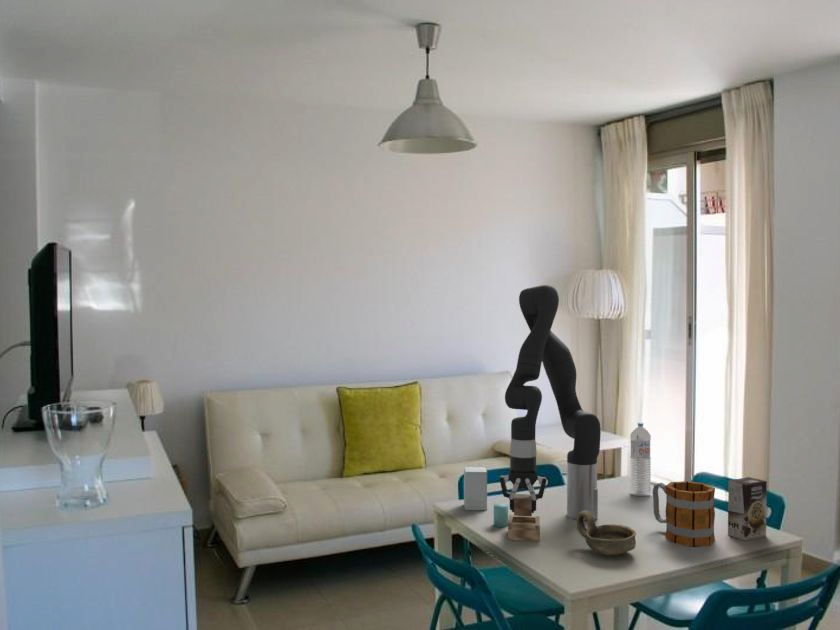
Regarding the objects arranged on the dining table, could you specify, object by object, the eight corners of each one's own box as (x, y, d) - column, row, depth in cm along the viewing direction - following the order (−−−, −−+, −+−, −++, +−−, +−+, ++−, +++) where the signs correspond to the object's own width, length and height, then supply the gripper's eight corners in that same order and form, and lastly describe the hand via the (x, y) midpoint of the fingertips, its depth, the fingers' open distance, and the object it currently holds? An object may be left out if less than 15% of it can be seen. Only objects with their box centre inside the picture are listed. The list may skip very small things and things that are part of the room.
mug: (725, 541, 213) (725, 488, 213) (695, 550, 206) (695, 495, 205) (668, 523, 230) (668, 474, 229) (638, 531, 222) (638, 481, 222)
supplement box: (487, 510, 244) (487, 471, 244) (464, 510, 245) (464, 471, 244) (485, 504, 252) (485, 466, 251) (463, 504, 252) (463, 466, 252)
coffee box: (745, 541, 213) (746, 484, 213) (726, 534, 219) (727, 479, 218) (767, 536, 217) (767, 480, 217) (748, 530, 223) (748, 476, 223)
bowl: (620, 566, 194) (620, 528, 194) (563, 550, 207) (563, 514, 206) (647, 553, 204) (647, 516, 203) (591, 538, 216) (591, 504, 216)
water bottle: (631, 496, 260) (631, 424, 259) (629, 491, 267) (629, 421, 266) (651, 497, 259) (652, 425, 258) (649, 492, 266) (649, 421, 265)
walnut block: (531, 511, 221) (531, 494, 221) (531, 516, 216) (531, 499, 216) (514, 510, 222) (514, 493, 222) (514, 515, 217) (514, 498, 217)
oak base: (539, 531, 223) (539, 516, 223) (539, 540, 214) (539, 525, 214) (508, 529, 224) (508, 515, 224) (508, 539, 215) (507, 524, 215)
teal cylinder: (508, 523, 231) (508, 503, 231) (508, 527, 227) (507, 507, 226) (494, 522, 232) (493, 503, 231) (493, 527, 227) (493, 507, 227)
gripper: (547, 452, 221) (547, 509, 222) (499, 450, 224) (498, 507, 224) (548, 457, 214) (548, 516, 214) (497, 455, 216) (497, 514, 217)
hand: (522, 511), depth 219 cm, fingers closed on walnut block, 5 cm apart
